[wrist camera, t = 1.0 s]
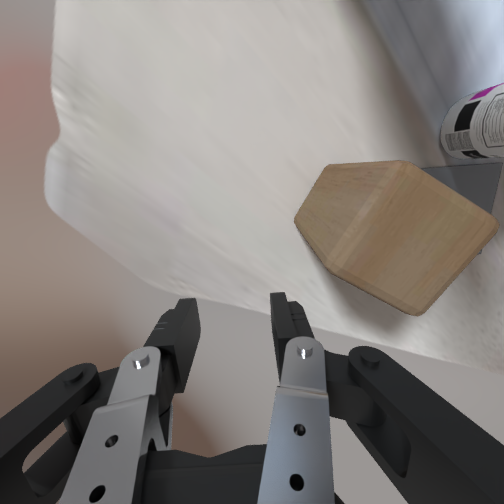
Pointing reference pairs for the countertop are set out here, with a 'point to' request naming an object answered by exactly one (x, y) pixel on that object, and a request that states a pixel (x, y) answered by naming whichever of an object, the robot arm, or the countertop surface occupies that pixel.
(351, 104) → the countertop surface
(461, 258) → the wooden block
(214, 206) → the countertop surface
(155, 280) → the countertop surface
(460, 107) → the supplement can
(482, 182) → the mat
